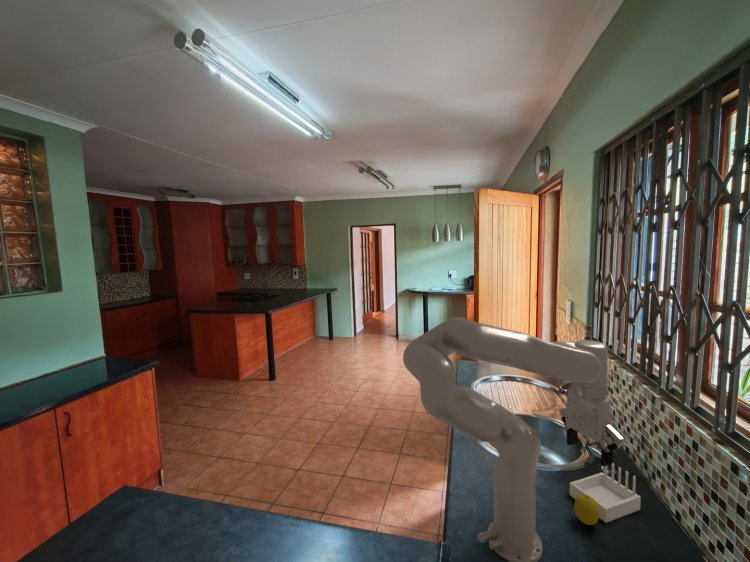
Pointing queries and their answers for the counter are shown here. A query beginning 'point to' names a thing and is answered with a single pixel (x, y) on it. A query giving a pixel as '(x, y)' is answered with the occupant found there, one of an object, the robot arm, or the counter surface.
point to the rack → (608, 494)
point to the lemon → (586, 509)
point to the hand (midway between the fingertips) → (588, 453)
